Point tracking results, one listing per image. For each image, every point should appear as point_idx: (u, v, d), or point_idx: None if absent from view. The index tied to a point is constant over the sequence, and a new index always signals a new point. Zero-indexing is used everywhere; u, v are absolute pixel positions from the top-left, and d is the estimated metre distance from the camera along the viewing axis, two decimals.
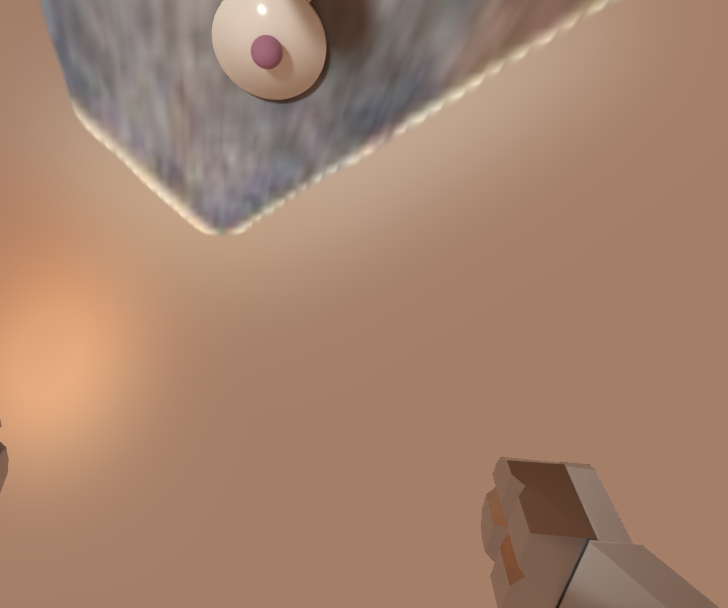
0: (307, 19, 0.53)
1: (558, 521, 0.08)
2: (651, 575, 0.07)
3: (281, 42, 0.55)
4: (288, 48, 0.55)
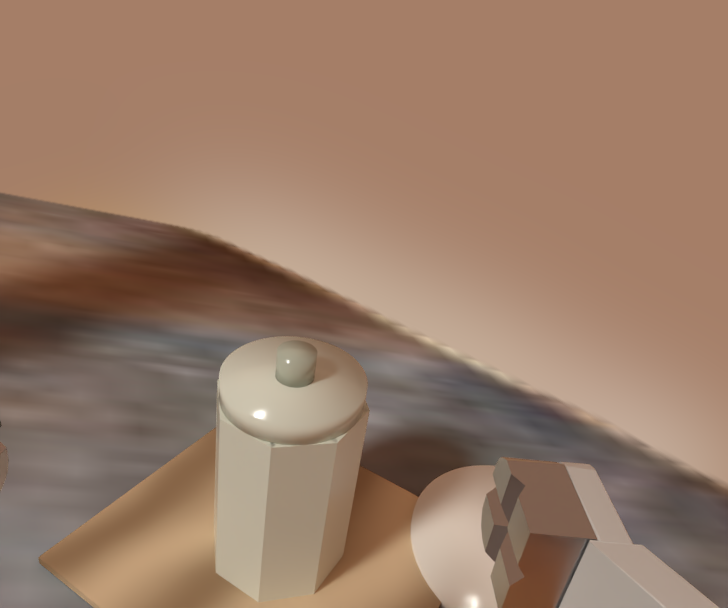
0: (443, 491, 0.32)
1: (558, 521, 0.08)
2: (652, 574, 0.07)
3: None
4: None
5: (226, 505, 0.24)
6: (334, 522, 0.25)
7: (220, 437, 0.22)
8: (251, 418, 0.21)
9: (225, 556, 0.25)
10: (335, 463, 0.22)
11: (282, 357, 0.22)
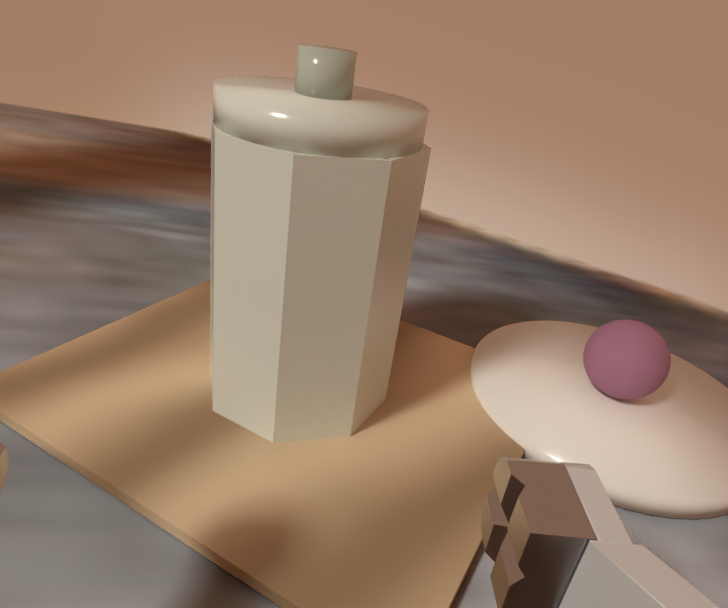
0: (507, 341, 0.25)
1: (558, 521, 0.08)
2: (651, 575, 0.07)
3: (586, 373, 0.23)
4: None
5: (226, 289, 0.16)
6: (379, 323, 0.17)
7: (216, 167, 0.15)
8: (262, 111, 0.14)
9: (226, 379, 0.18)
10: (387, 203, 0.15)
11: (306, 47, 0.15)
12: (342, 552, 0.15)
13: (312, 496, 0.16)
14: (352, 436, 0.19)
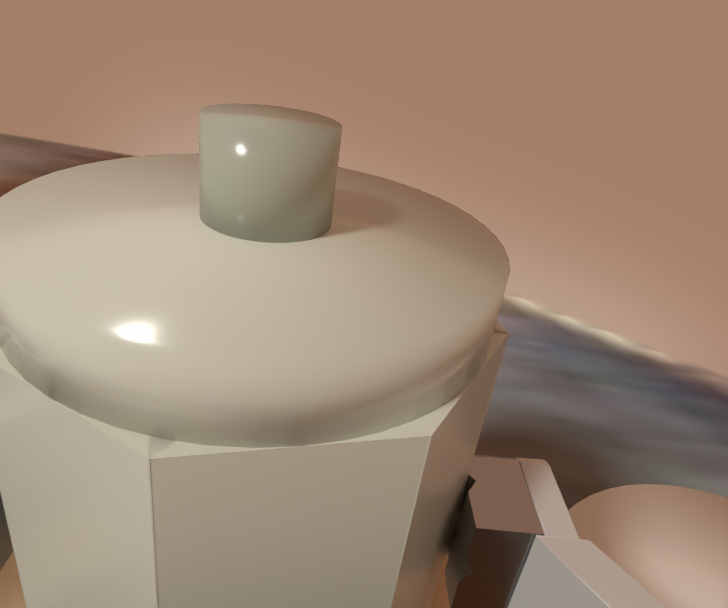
0: None
1: (506, 516, 0.08)
2: (594, 569, 0.07)
3: None
4: (722, 589, 0.15)
5: None
6: None
7: None
8: (58, 329, 0.05)
9: None
10: (415, 513, 0.06)
11: (213, 120, 0.06)
12: None
13: None
14: None
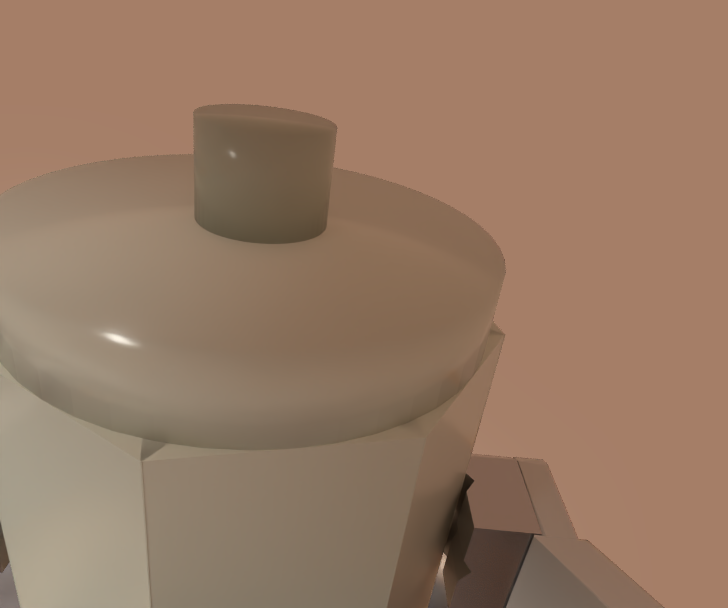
0: None
1: (504, 516, 0.08)
2: (592, 569, 0.07)
3: None
4: None
5: None
6: None
7: None
8: (50, 332, 0.05)
9: None
10: (411, 515, 0.06)
11: (206, 120, 0.06)
12: None
13: None
14: None
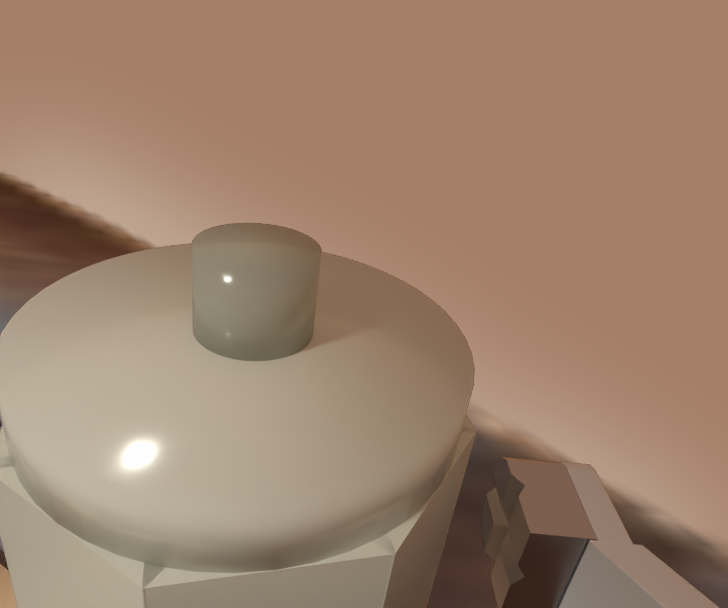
0: None
1: (558, 521, 0.08)
2: (651, 575, 0.07)
3: None
4: None
5: None
6: None
7: (1, 527, 0.07)
8: (65, 474, 0.05)
9: None
10: None
11: (203, 259, 0.07)
12: None
13: None
14: None
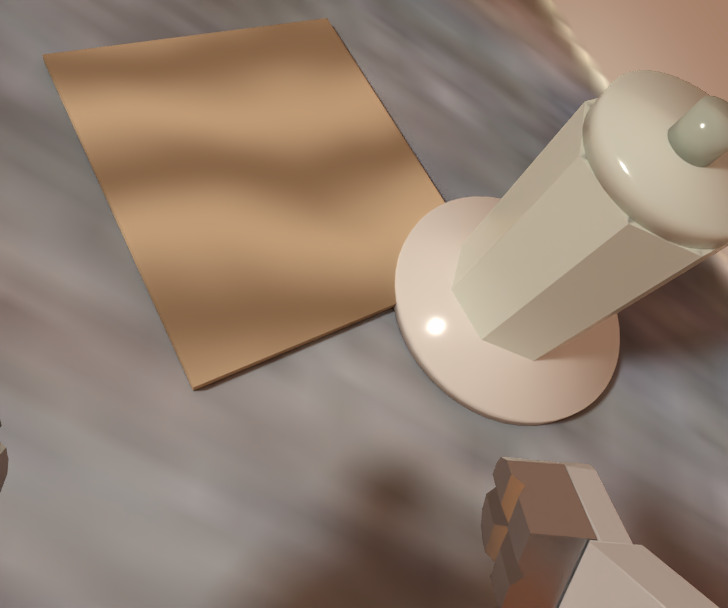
0: (474, 212, 0.27)
1: (558, 521, 0.08)
2: (651, 575, 0.07)
3: None
4: None
5: (512, 244, 0.21)
6: (605, 317, 0.21)
7: (562, 175, 0.18)
8: (627, 178, 0.16)
9: (473, 284, 0.23)
10: (674, 273, 0.18)
11: (703, 118, 0.16)
12: (210, 301, 0.22)
13: (219, 256, 0.23)
14: (280, 228, 0.24)
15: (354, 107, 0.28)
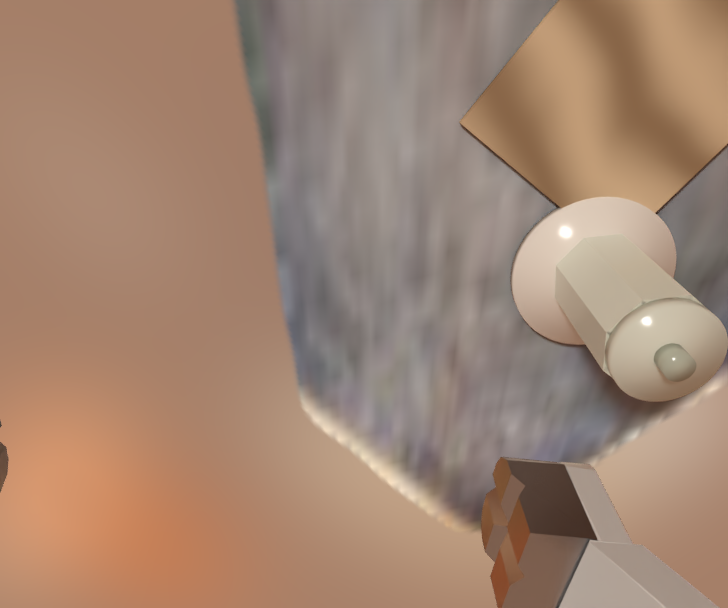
0: (654, 233, 0.38)
1: (558, 521, 0.08)
2: (651, 574, 0.07)
3: None
4: None
5: (604, 272, 0.34)
6: None
7: (634, 293, 0.31)
8: (627, 327, 0.30)
9: (585, 252, 0.37)
10: (597, 360, 0.33)
11: (673, 358, 0.29)
12: (515, 103, 0.34)
13: (548, 91, 0.34)
14: (586, 116, 0.35)
15: (723, 115, 0.35)
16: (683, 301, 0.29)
